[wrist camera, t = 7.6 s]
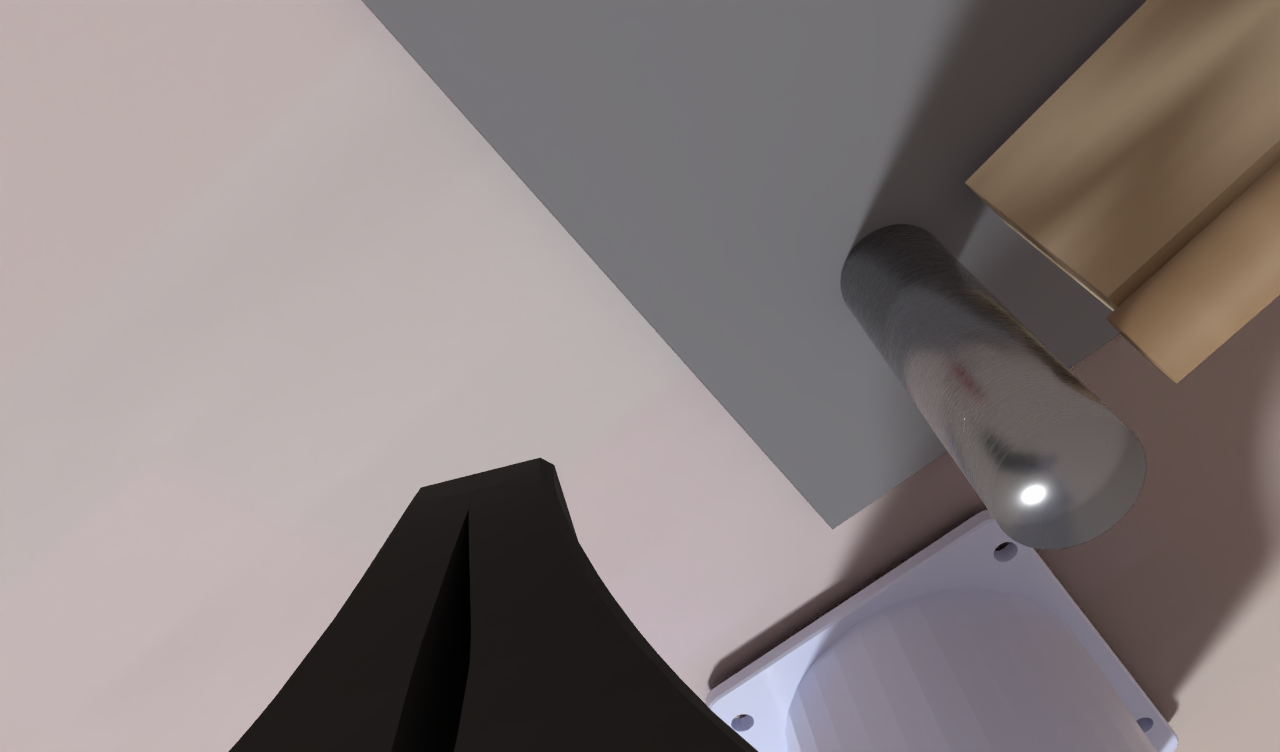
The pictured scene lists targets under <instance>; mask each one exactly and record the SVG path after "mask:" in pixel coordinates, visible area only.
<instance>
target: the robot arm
mask: <svg viewBox="0 0 1280 752" xmlns="http://www.w3.org/2000/svg"><path fill="white" fill-rule="evenodd" d="M1005 542H1009V544H1008V545H1007V546H1006V547H1005V548H1004V549H1001V550H999V551H995V549H996V548H997V547H998V546H999V545H1000V544H1002V543H1005ZM741 714H748V715H747V716H745V717H743V718H735V717H736V716H738V715H741ZM1177 745H1178V737H1177V735H1176V733H1175V732H1174V731H1173V729H1172V728H1171V726H1170V725H1169V724H1168V723H1167V721H1166V720H1165V719H1164V717H1163V716H1162V715H1161V713H1160V712H1159V711H1158V709H1157V708H1156V707H1155V706H1154V704H1153V703H1152V702H1151V700H1150V699H1149V698H1148V696H1147V695H1146V694H1145V693H1144V691H1143V690H1142V689H1141V687H1140V686H1139V685H1138V683H1137V682H1136V681H1135V680H1134V678H1133V677H1132V676H1131V674H1130V673H1129V672H1128V670H1127V669H1126V668H1125V667H1124V665H1123V664H1122V663H1121V661H1120V660H1119V659H1118V657H1117V656H1116V655H1115V654H1114V652H1113V651H1112V650H1111V648H1110V647H1109V646H1108V644H1107V643H1106V642H1105V641H1104V639H1103V638H1102V637H1101V635H1100V634H1099V633H1098V631H1097V630H1096V629H1095V628H1094V626H1093V625H1092V624H1091V622H1090V621H1089V620H1088V618H1087V617H1086V616H1085V615H1084V613H1083V612H1082V611H1081V609H1080V608H1079V607H1078V605H1077V604H1076V603H1075V602H1074V600H1073V599H1072V598H1071V596H1070V595H1069V594H1068V592H1067V591H1066V590H1065V589H1064V587H1063V586H1062V585H1061V583H1060V582H1059V581H1058V579H1057V578H1056V577H1055V576H1054V574H1053V573H1052V572H1051V570H1050V569H1049V568H1048V566H1047V565H1046V564H1045V563H1044V561H1043V560H1042V559H1041V557H1040V556H1039V555H1038V553H1037V552H1036V551H1035V550H1034V548H1031V547H1027V546H1025V545H1022V544H1020V543H1018V542H1016V541H1014V540H1013V539H1011V538H1010V537H1009V536H1007V535H1006V534H1005V532H1004V531H1003V530H1002V529H1001V528H1000V526H999V525H998V523H997V522H996V520H995V519H994V518H993V516H992V515H991V513H990V512H989V510H984V511H982V512H980V513H978V514H976V515H974V516H973V517H971V518H970V519H968V520H967V521H965V522H964V523H962V524H961V525H959V526H958V527H956V528H955V529H953V530H952V531H950V532H949V533H947V534H946V535H944V536H943V537H941V538H940V539H938V540H937V541H935V542H934V543H932V544H931V545H929V546H928V547H926V548H925V549H923V550H922V551H920V552H919V553H917V554H916V555H914V556H913V557H911V558H910V559H908V560H907V561H905V562H904V563H902V564H901V565H899V566H897V567H896V568H894V569H893V570H891V571H890V572H888V573H887V574H885V575H884V576H882V577H881V578H879V579H878V580H876V581H875V582H873V583H872V584H870V585H869V586H867V587H866V588H864V589H863V590H861V591H860V592H858V593H857V594H855V595H854V596H852V597H851V598H849V599H848V600H846V601H845V602H843V603H842V604H840V605H839V606H837V607H836V608H834V609H833V610H831V611H830V612H828V613H827V614H825V615H824V616H822V617H820V618H819V619H817V620H816V621H814V622H813V623H811V624H810V625H808V626H807V627H805V628H804V629H802V630H801V631H799V632H798V633H796V634H795V635H793V636H792V637H790V638H789V639H787V640H786V641H784V642H783V643H781V644H780V645H778V646H777V647H775V648H774V649H772V650H771V651H769V652H768V653H766V654H765V655H763V656H762V657H760V658H759V659H757V660H756V661H754V662H753V663H751V664H750V665H748V666H747V667H745V668H743V669H742V670H740V671H739V672H737V673H736V674H734V675H733V676H731V677H730V678H728V679H727V680H725V681H724V682H722V683H721V684H719V685H718V686H716V687H715V688H714V689H712V690H711V691H710V692H709V693H708V695H707V698H706V704H705V703H704V702H703V701H702V700H701V699H700V698H699V697H698V696H697V695H696V694H695V693H694V692H693V691H692V690H691V689H690V688H689V687H688V686H687V685H686V684H685V683H684V682H683V681H682V680H681V679H680V678H679V677H678V676H677V675H676V673H675V672H674V671H673V670H672V669H671V668H670V667H669V666H668V665H667V663H666V662H665V661H664V660H663V659H662V658H661V657H660V656H659V655H658V654H657V652H656V651H655V650H654V649H653V648H652V646H651V645H650V644H649V643H648V642H647V640H646V639H645V638H644V637H643V636H642V634H641V633H640V632H639V631H638V629H637V628H636V627H635V626H634V624H633V623H632V622H631V621H630V619H629V618H628V616H627V615H626V614H625V612H624V611H623V610H622V608H621V607H620V606H619V604H618V603H617V602H616V600H615V599H614V597H613V596H612V595H611V593H610V592H609V590H608V589H607V587H606V586H605V584H604V583H603V581H602V580H601V578H600V577H599V575H598V574H597V572H596V571H595V569H594V567H593V566H592V564H591V562H590V561H589V559H588V557H587V555H586V554H585V552H584V550H583V549H582V547H581V545H580V544H579V542H578V539H577V536H576V533H575V530H574V527H573V524H572V520H571V517H570V514H569V511H568V508H567V504H566V501H565V498H564V495H563V492H562V489H561V485H560V482H559V479H558V476H557V473H556V469H555V466H554V465H553V464H551V463H549V462H547V461H546V460H544V459H542V458H537V459H533V460H529V461H525V462H521V463H517V464H513V465H509V466H505V467H501V468H497V469H493V470H489V471H485V472H481V473H477V474H473V475H469V476H465V477H461V478H457V479H453V480H449V481H445V482H442V483H438V484H434V485H430V486H426V487H422V488H420V490H419V491H418V493H417V494H416V496H415V497H414V498H413V500H412V501H411V503H410V504H409V506H408V508H407V509H406V511H405V512H404V514H403V515H402V517H401V518H400V520H399V521H398V523H397V525H396V526H395V528H394V529H393V531H392V532H391V534H390V535H389V537H388V538H387V540H386V542H385V543H384V545H383V546H382V548H381V549H380V551H379V552H378V554H377V556H376V557H375V559H374V560H373V562H372V563H371V565H370V566H369V568H368V569H367V571H366V573H365V574H364V576H363V577H362V579H361V580H360V581H359V583H358V584H357V586H356V587H355V589H354V590H353V592H352V593H351V595H350V596H349V598H348V599H347V601H346V602H345V604H344V605H343V607H342V608H341V610H340V611H339V613H338V614H337V616H336V617H335V618H334V620H333V621H332V623H331V624H330V625H329V627H328V628H327V629H326V631H325V632H324V633H323V635H322V636H321V637H320V639H319V640H318V641H317V642H316V644H315V645H314V646H313V648H312V649H311V650H310V652H309V653H308V654H307V656H306V657H305V658H304V660H303V661H302V662H301V664H300V665H299V666H298V668H297V669H296V670H295V672H294V673H293V674H292V676H291V677H290V678H289V680H288V681H287V682H286V684H285V685H284V686H283V688H282V689H281V690H280V691H279V693H278V694H277V695H276V697H275V698H274V699H273V700H272V702H271V703H270V704H269V705H268V707H267V708H266V709H265V710H264V711H263V713H262V714H261V715H260V716H259V717H258V719H257V720H256V721H255V722H254V723H253V724H252V726H251V727H250V728H249V729H248V730H247V731H246V733H245V734H244V735H243V736H242V737H241V738H240V740H239V741H238V742H237V743H236V744H235V745H234V746H233V747H232V748H231V750H230V751H229V752H1174V750H1175V749H1176V747H1177Z"/></svg>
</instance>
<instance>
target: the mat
mask: <svg viewBox="0 0 1280 752" xmlns="http://www.w3.org/2000/svg"><path fill="white" fill-rule="evenodd" d="M362 1H363V2H364V3H365V5H366V6H367V7H368V8H369V9H370V10H371V11H372V12H373V14H374V15H375V16H376V17H377V18H378V19H379V20H380V21H381V23H382V24H383V25H384V26H385V27H386V28H387V29H388V30H389V32H390V33H391V34H392V35H393V36H394V37H395V38H396V39H397V41H398V42H399V43H400V44H401V45H402V46H403V47H404V48H405V50H406V51H407V52H408V53H409V54H410V55H411V56H412V57H413V59H414V60H415V61H416V62H417V63H418V64H419V65H420V66H421V68H422V69H423V70H424V71H425V72H426V73H427V74H428V75H429V77H430V78H431V79H432V80H433V81H434V82H435V83H436V84H437V86H438V87H439V88H440V89H441V90H442V91H443V92H444V93H445V95H446V96H447V97H448V98H449V99H450V100H451V101H452V102H453V104H454V105H455V106H456V107H457V108H458V109H459V110H460V111H461V112H462V114H463V115H464V116H465V117H466V118H467V119H468V120H469V121H470V123H471V124H472V125H473V126H474V127H475V128H476V129H477V130H478V132H479V133H480V134H481V135H482V136H483V137H484V138H485V139H486V141H487V142H488V143H489V144H490V145H491V146H492V147H493V148H494V150H495V151H496V152H497V153H498V154H499V155H500V156H501V157H502V159H503V160H504V161H505V162H506V163H507V164H508V165H509V166H510V168H511V169H512V170H513V171H514V172H515V173H516V174H517V175H518V177H519V178H520V179H521V180H522V181H523V182H524V183H525V184H526V186H527V187H528V188H529V189H530V190H531V191H532V192H533V193H534V195H535V196H536V197H537V198H538V199H539V200H540V201H541V202H542V204H543V205H544V206H545V207H546V208H547V209H548V210H549V211H550V212H551V214H552V215H553V216H554V217H555V218H556V219H557V220H558V221H559V223H560V224H561V225H562V226H563V227H564V228H565V229H566V230H567V232H568V233H569V234H570V235H571V236H572V237H573V238H574V239H575V241H576V242H577V243H578V244H579V245H580V246H581V247H582V248H583V250H584V251H585V252H586V253H587V254H588V255H589V256H590V257H591V259H592V260H593V261H594V262H595V263H596V264H597V265H598V266H599V268H600V269H601V270H602V271H603V272H604V273H605V274H606V275H607V277H608V278H609V279H610V280H611V281H612V282H613V283H614V284H615V286H616V287H617V288H618V289H619V290H620V291H621V292H622V293H623V295H624V296H625V297H626V298H627V299H628V300H629V301H630V302H631V304H632V305H633V306H634V307H635V308H636V309H637V310H638V311H639V313H640V314H641V315H642V316H643V317H644V318H645V319H646V320H647V321H648V323H649V324H650V325H651V326H652V327H653V328H654V329H655V330H656V332H657V333H658V334H659V335H660V336H661V337H662V338H663V339H664V341H665V342H666V343H667V344H668V345H669V346H670V347H671V348H672V350H673V351H674V352H675V353H676V354H677V355H678V356H679V357H680V359H681V360H682V361H683V362H684V363H685V364H686V365H687V366H688V368H689V369H690V370H691V371H692V372H693V373H694V374H695V375H696V377H697V378H698V379H699V380H700V381H701V382H702V383H703V384H704V386H705V387H706V388H707V389H708V390H709V391H710V392H711V393H712V395H713V396H714V397H715V398H716V399H717V400H718V401H719V402H720V404H721V405H722V406H723V407H724V408H725V409H726V410H727V411H728V413H729V414H730V415H731V416H732V417H733V418H734V419H735V420H736V421H737V423H738V424H739V425H740V426H741V427H742V428H743V429H744V430H745V432H746V433H747V434H748V435H749V436H750V437H751V438H752V439H753V441H754V442H755V443H756V444H757V445H758V446H759V447H760V448H761V450H762V451H763V452H764V453H765V454H766V455H767V456H768V457H769V459H770V460H771V461H772V462H773V463H774V464H775V465H776V466H777V468H778V469H779V470H780V471H781V472H782V473H783V474H784V475H785V477H786V478H787V479H788V480H789V481H790V482H791V483H792V484H793V486H794V487H795V488H796V489H797V490H798V491H799V492H800V493H801V495H802V496H803V497H804V498H805V499H806V500H807V501H808V502H809V504H810V505H811V506H812V507H813V508H814V509H815V510H816V511H817V513H818V514H819V515H820V516H821V517H822V518H823V519H824V520H825V521H826V523H827V524H828V525H829V526H830V527H831V528H832V529H834V528H836V527H837V526H838V525H840V524H841V523H843V522H844V521H846V520H847V519H849V518H850V517H852V516H853V515H855V514H856V513H858V512H859V511H861V510H862V509H863V508H865V507H866V506H868V505H869V504H871V503H872V502H874V501H875V500H877V499H878V498H880V497H881V496H883V495H884V494H885V493H887V492H888V491H890V490H891V489H893V488H894V487H896V486H897V485H899V484H900V483H902V482H903V481H905V480H906V479H907V478H909V477H910V476H912V475H913V474H915V473H916V472H918V471H919V470H921V469H922V468H924V467H925V466H927V465H928V464H929V463H931V462H932V461H934V460H935V459H937V458H938V457H940V456H941V455H943V454H944V453H946V452H947V450H946V448H945V447H944V445H943V444H942V442H941V441H940V440H939V438H938V437H937V435H936V434H935V432H934V431H933V429H932V428H931V427H930V425H929V424H928V422H927V421H926V419H925V418H924V416H923V415H922V414H921V412H920V411H919V409H918V408H917V406H916V405H915V403H914V402H913V401H912V399H911V398H910V396H909V395H908V393H907V392H906V390H905V389H904V388H903V386H902V385H901V383H900V382H899V380H898V379H897V377H896V376H895V375H894V373H893V372H892V370H891V369H890V367H889V366H888V364H887V363H886V362H885V360H884V359H883V357H882V356H881V354H880V353H879V351H878V350H877V349H876V347H875V346H874V344H873V343H872V341H871V340H870V338H869V337H868V336H867V334H866V333H865V331H864V330H863V328H862V327H861V325H860V324H859V323H858V321H857V320H856V318H855V317H854V315H853V314H852V312H851V311H850V310H849V308H848V307H847V305H846V304H845V301H844V299H843V296H842V293H841V287H840V278H841V272H842V268H843V265H844V263H845V260H846V258H847V256H848V255H849V253H850V252H851V250H852V249H853V248H854V246H855V245H856V244H857V243H858V242H859V241H860V240H862V239H863V238H864V237H865V236H867V235H868V234H870V233H871V232H873V231H875V230H877V229H880V228H882V227H885V226H889V225H895V224H908V225H914V226H917V227H920V228H922V229H925V230H926V231H928V232H929V233H931V234H932V235H933V236H934V237H935V238H936V239H937V240H938V241H939V242H940V243H941V244H942V245H943V246H944V247H945V248H946V249H947V250H949V251H950V252H951V253H952V254H953V255H954V256H955V257H956V258H957V259H958V260H959V261H960V262H961V263H962V264H963V265H964V266H965V267H966V268H967V269H968V270H969V271H970V272H971V273H972V274H973V275H974V276H975V277H976V278H977V279H978V280H979V281H980V282H981V283H982V284H983V285H984V286H985V287H986V288H987V289H988V290H989V291H990V292H991V293H992V294H993V295H994V296H995V297H996V298H997V299H998V300H999V301H1000V302H1001V303H1002V304H1003V305H1004V306H1005V307H1006V308H1007V309H1008V310H1009V311H1010V312H1011V313H1012V314H1013V315H1014V316H1015V317H1016V318H1017V319H1018V320H1019V321H1020V322H1021V323H1022V324H1024V325H1025V326H1026V327H1027V328H1028V329H1029V330H1030V331H1031V332H1032V333H1033V334H1034V335H1035V336H1036V337H1037V338H1038V339H1039V340H1040V341H1041V342H1042V343H1043V344H1044V345H1045V346H1046V347H1047V348H1048V349H1049V350H1050V351H1051V352H1052V353H1053V354H1054V355H1055V356H1056V357H1057V358H1058V359H1059V360H1060V361H1061V362H1062V363H1063V364H1064V365H1065V366H1066V367H1067V368H1068V369H1069V368H1070V367H1072V366H1073V365H1075V364H1076V363H1078V362H1079V361H1081V360H1082V359H1084V358H1085V357H1087V356H1088V355H1089V354H1091V353H1092V352H1094V351H1095V350H1097V349H1098V348H1100V347H1101V346H1103V345H1104V344H1106V343H1107V342H1109V341H1110V340H1111V339H1113V338H1114V337H1116V336H1117V335H1119V334H1120V332H1119V331H1118V330H1117V329H1116V328H1115V327H1114V326H1113V325H1112V324H1111V323H1110V322H1109V321H1108V320H1107V319H1106V317H1107V316H1109V315H1110V314H1111V313H1112V312H1113V311H1112V310H1111V309H1110V308H1108V307H1107V306H1106V305H1105V304H1103V303H1102V302H1101V301H1100V300H1099V299H1097V298H1096V297H1095V296H1094V295H1092V294H1091V293H1090V292H1089V291H1088V290H1086V289H1085V288H1084V287H1083V286H1081V285H1080V284H1079V283H1078V282H1077V281H1075V280H1074V279H1073V278H1072V277H1070V276H1069V275H1068V274H1067V273H1066V272H1064V271H1063V270H1062V269H1061V268H1059V267H1058V266H1057V265H1056V264H1055V263H1053V262H1052V261H1051V260H1050V259H1049V258H1047V257H1046V256H1045V255H1044V254H1042V253H1041V252H1040V251H1039V250H1038V249H1036V248H1035V247H1034V246H1033V245H1031V244H1030V243H1029V242H1028V241H1027V240H1025V239H1024V238H1023V237H1022V236H1020V235H1019V234H1018V233H1017V232H1016V231H1014V230H1013V229H1012V228H1011V227H1009V226H1008V225H1007V224H1006V223H1005V222H1004V221H1003V220H1002V219H1001V218H1000V217H999V216H998V215H997V214H996V213H995V212H994V211H993V210H992V209H991V208H990V207H989V206H988V205H987V204H986V203H985V202H984V201H983V200H982V199H981V198H980V197H979V196H978V195H977V194H976V193H975V192H974V191H973V190H972V189H971V188H970V187H969V186H968V185H967V184H966V183H965V182H966V181H967V180H968V179H969V178H970V177H971V176H972V175H973V174H974V173H975V172H976V171H977V170H978V169H979V168H980V167H981V166H982V165H983V164H984V163H985V162H986V161H987V160H988V159H989V158H990V157H991V156H992V155H993V154H994V153H995V152H996V151H997V150H998V149H999V148H1000V147H1001V146H1002V145H1003V144H1004V143H1005V142H1006V141H1007V140H1008V139H1009V138H1010V137H1011V136H1012V135H1013V134H1014V133H1015V132H1016V131H1017V130H1018V129H1019V128H1020V127H1021V126H1022V125H1023V124H1024V123H1025V122H1026V121H1027V120H1028V119H1029V118H1030V117H1031V116H1032V115H1033V114H1034V113H1035V112H1036V111H1037V110H1038V109H1039V108H1040V107H1041V106H1042V105H1043V104H1044V103H1045V102H1046V101H1047V100H1048V99H1049V98H1050V97H1051V96H1052V95H1053V94H1054V93H1055V92H1056V91H1057V90H1058V89H1059V88H1060V87H1061V86H1062V85H1063V84H1064V83H1065V82H1066V81H1067V80H1068V79H1069V78H1070V77H1071V76H1072V75H1073V74H1074V73H1075V72H1076V71H1077V70H1078V69H1079V68H1080V67H1081V66H1082V65H1083V64H1084V63H1085V62H1086V61H1087V60H1088V59H1089V58H1090V57H1091V56H1092V55H1093V54H1094V53H1095V52H1096V51H1097V50H1098V49H1099V48H1100V47H1101V46H1102V45H1103V44H1104V43H1105V42H1106V41H1107V40H1108V39H1109V38H1110V37H1111V36H1112V35H1113V34H1114V33H1115V32H1116V31H1117V30H1118V29H1119V28H1120V27H1121V26H1122V25H1123V24H1124V23H1125V22H1126V21H1127V20H1128V19H1129V18H1130V17H1131V16H1132V15H1133V14H1134V13H1135V12H1136V11H1137V10H1138V9H1139V8H1140V7H1141V6H1142V5H1143V4H1144V3H1145V2H1146V1H1147V0H362Z"/></svg>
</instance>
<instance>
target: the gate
mask: <svg viewBox="0 0 1280 752" xmlns="http://www.w3.org/2000/svg"><path fill="white" fill-rule="evenodd" d="M965 183H966V184H967V185H968V186H969V187H970V188H971V189H972V190H973V191H974V192H975V193H976V194H977V195H978V196H979V197H980V198H981V199H982V200H983V201H984V202H985V203H986V204H987V205H988V206H989V207H990V208H991V209H992V210H993V211H994V212H995V213H996V214H997V215H998V216H999V217H1000V218H1001V219H1002V220H1003V221H1004V222H1005V223H1006V224H1007V225H1008V226H1009V227H1011V228H1012V229H1013V230H1014V231H1016V232H1017V233H1018V234H1019V235H1020V236H1022V237H1023V238H1024V239H1025V240H1027V241H1028V242H1029V243H1030V244H1031V245H1033V246H1034V247H1035V248H1036V249H1038V250H1039V251H1040V252H1041V253H1042V254H1044V255H1045V256H1046V257H1047V258H1049V259H1050V260H1051V261H1052V262H1053V263H1055V264H1056V265H1057V266H1058V267H1059V268H1061V269H1062V270H1063V271H1064V272H1066V273H1067V274H1068V275H1069V276H1070V277H1072V278H1073V279H1074V280H1075V281H1077V282H1078V283H1079V284H1080V285H1081V286H1083V287H1084V288H1085V289H1086V290H1088V291H1089V292H1090V293H1091V294H1092V295H1094V296H1095V297H1096V298H1097V299H1099V300H1100V301H1101V302H1102V303H1103V304H1105V305H1106V306H1107V307H1108V308H1110V309H1111V310H1112V311H1113V312H1112V313H1111V314H1110V315H1109V316H1107V317H1106V319H1107V320H1108V321H1109V322H1110V323H1111V324H1112V325H1113V326H1114V327H1115V328H1116V329H1117V330H1118V331H1119V332H1120V333H1121V334H1122V335H1123V336H1124V337H1125V338H1126V339H1127V340H1128V341H1129V342H1130V343H1131V344H1132V345H1133V346H1134V347H1135V348H1136V349H1137V350H1138V351H1140V352H1141V353H1142V354H1143V355H1144V356H1145V357H1146V358H1147V359H1148V360H1149V361H1150V362H1152V363H1153V364H1154V365H1155V366H1156V367H1157V368H1158V369H1159V370H1160V371H1162V372H1163V373H1164V374H1165V375H1166V376H1167V377H1169V378H1170V379H1171V380H1172V381H1174V382H1175V383H1176V384H1177V383H1178V382H1179V381H1181V380H1182V379H1183V378H1184V377H1185V376H1186V375H1188V374H1189V373H1190V372H1191V371H1192V370H1193V369H1195V368H1196V367H1197V366H1198V365H1199V364H1200V363H1201V362H1203V361H1204V360H1205V359H1206V358H1207V357H1208V356H1210V355H1211V354H1212V353H1213V352H1214V351H1215V350H1216V349H1218V348H1219V347H1220V346H1221V345H1222V344H1223V343H1225V342H1226V341H1227V340H1228V339H1229V338H1230V337H1231V336H1233V335H1234V334H1235V333H1236V332H1237V331H1238V330H1240V329H1241V328H1242V327H1243V326H1244V325H1245V324H1247V323H1248V322H1249V321H1250V320H1251V319H1252V318H1253V317H1255V316H1256V315H1257V314H1258V313H1259V312H1260V311H1262V310H1263V309H1264V308H1265V307H1266V306H1267V305H1268V304H1270V303H1271V302H1272V301H1273V300H1274V299H1275V298H1277V297H1278V296H1279V295H1280V0H1147V1H1146V2H1145V3H1144V4H1143V5H1142V6H1141V7H1140V8H1139V9H1138V10H1137V11H1136V12H1135V13H1134V14H1133V15H1132V16H1131V17H1130V18H1129V19H1128V20H1127V21H1126V22H1125V23H1124V24H1123V25H1122V26H1121V27H1120V28H1119V29H1118V30H1117V31H1116V32H1115V33H1114V34H1113V35H1112V36H1111V37H1110V38H1109V39H1108V40H1107V41H1106V42H1105V43H1104V44H1103V45H1102V46H1101V47H1100V48H1099V49H1098V50H1097V51H1096V52H1095V53H1094V54H1093V55H1092V56H1091V57H1090V58H1089V59H1088V60H1087V61H1086V62H1085V63H1084V64H1083V65H1082V66H1081V67H1080V68H1079V69H1078V70H1077V71H1076V72H1075V73H1074V74H1073V75H1072V76H1071V77H1070V78H1069V79H1068V80H1067V81H1066V82H1065V83H1064V84H1063V85H1062V86H1061V87H1060V88H1059V89H1058V90H1057V91H1056V92H1055V93H1054V94H1053V95H1052V96H1051V97H1050V98H1049V99H1048V100H1047V101H1046V102H1045V103H1044V104H1043V105H1042V106H1041V107H1040V108H1039V109H1038V110H1037V111H1036V112H1035V113H1034V114H1033V115H1032V116H1031V117H1030V118H1029V119H1028V120H1027V121H1026V122H1025V123H1024V124H1023V125H1022V126H1021V127H1020V128H1019V129H1018V130H1017V131H1016V132H1015V133H1014V134H1013V135H1012V136H1011V137H1010V138H1009V139H1008V140H1007V141H1006V142H1005V143H1004V144H1003V145H1002V146H1001V147H1000V148H999V149H998V150H997V151H996V152H995V153H994V154H993V155H992V156H991V157H990V158H989V159H988V160H987V161H986V162H985V163H984V164H983V165H982V166H981V167H980V168H979V169H978V170H977V171H976V172H975V173H974V174H973V175H972V176H971V177H970V178H969V179H968V180H967V181H966V182H965Z"/></svg>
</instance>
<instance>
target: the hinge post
mask: <svg viewBox="0 0 1280 752" xmlns="http://www.w3.org/2000/svg"><path fill="white" fill-rule="evenodd" d="M840 287H841V293H842V296H843V299H844V301H845V304H846V305H847V307H848V308H849V310H850V311H851V312H852V314H853V315H854V317H855V318H856V320H857V321H858V323H859V324H860V325H861V327H862V328H863V330H864V331H865V333H866V334H867V336H868V337H869V338H870V340H871V341H872V343H873V344H874V346H875V347H876V349H877V350H878V351H879V353H880V354H881V356H882V357H883V359H884V360H885V362H886V363H887V364H888V366H889V367H890V369H891V370H892V372H893V373H894V375H895V376H896V377H897V379H898V380H899V382H900V383H901V385H902V386H903V388H904V389H905V390H906V392H907V393H908V395H909V396H910V398H911V399H912V401H913V402H914V403H915V405H916V406H917V408H918V409H919V411H920V412H921V414H922V415H923V416H924V418H925V419H926V421H927V422H928V424H929V425H930V427H931V428H932V429H933V431H934V432H935V434H936V435H937V437H938V438H939V440H940V441H941V442H942V444H943V445H944V447H945V448H946V450H947V451H948V453H949V454H950V455H951V457H952V458H953V460H954V461H955V463H956V464H957V466H958V467H959V468H960V470H961V471H962V473H963V474H964V476H965V477H966V479H967V480H968V481H969V483H970V484H971V486H972V487H973V489H974V490H975V492H976V493H977V494H978V496H979V497H980V499H981V500H982V502H983V503H984V505H985V506H986V507H987V509H988V510H989V512H990V513H991V515H992V516H993V518H994V519H995V520H996V522H997V523H998V525H999V526H1000V528H1001V529H1002V530H1003V531H1004V532H1005V534H1006V535H1007V536H1009V537H1010V538H1011V539H1013V540H1014V541H1016V542H1018V543H1020V544H1022V545H1025V546H1027V547H1031V548H1035V549H1044V550H1056V549H1064V548H1069V547H1073V546H1077V545H1080V544H1082V543H1085V542H1087V541H1090V540H1092V539H1094V538H1096V537H1098V536H1099V535H1101V534H1103V533H1104V532H1106V531H1107V530H1109V529H1110V528H1111V527H1113V526H1114V525H1115V524H1116V523H1117V522H1118V521H1120V520H1121V519H1122V518H1123V516H1124V515H1125V514H1126V513H1127V512H1128V511H1129V510H1130V508H1131V507H1132V506H1133V504H1134V502H1135V501H1136V499H1137V498H1138V496H1139V493H1140V491H1141V489H1142V486H1143V483H1144V480H1145V474H1146V457H1145V453H1144V450H1143V447H1142V445H1141V443H1140V441H1139V439H1138V438H1137V437H1136V435H1135V434H1134V433H1133V432H1132V431H1131V430H1130V429H1129V428H1128V427H1127V426H1126V425H1125V424H1124V423H1123V422H1122V421H1121V420H1120V419H1119V418H1118V417H1117V416H1116V415H1115V414H1114V413H1113V412H1112V411H1111V410H1110V409H1109V408H1108V407H1107V406H1106V405H1105V404H1104V403H1103V402H1102V401H1101V400H1100V399H1099V398H1097V397H1096V396H1095V395H1094V394H1093V393H1092V392H1091V391H1090V390H1089V389H1088V388H1087V387H1086V386H1085V385H1084V384H1083V383H1082V382H1081V381H1080V380H1079V379H1078V378H1077V377H1076V376H1075V375H1074V374H1073V373H1072V372H1071V371H1070V370H1069V369H1068V368H1067V367H1066V366H1065V365H1064V364H1063V363H1062V362H1061V361H1060V360H1059V359H1058V358H1057V357H1056V356H1055V355H1054V354H1053V353H1052V352H1051V351H1050V350H1049V349H1048V348H1047V347H1046V346H1045V345H1044V344H1043V343H1042V342H1041V341H1040V340H1039V339H1038V338H1037V337H1036V336H1035V335H1034V334H1033V333H1032V332H1031V331H1030V330H1029V329H1028V328H1027V327H1026V326H1025V325H1024V324H1022V323H1021V322H1020V321H1019V320H1018V319H1017V318H1016V317H1015V316H1014V315H1013V314H1012V313H1011V312H1010V311H1009V310H1008V309H1007V308H1006V307H1005V306H1004V305H1003V304H1002V303H1001V302H1000V301H999V300H998V299H997V298H996V297H995V296H994V295H993V294H992V293H991V292H990V291H989V290H988V289H987V288H986V287H985V286H984V285H983V284H982V283H981V282H980V281H979V280H978V279H977V278H976V277H975V276H974V275H973V274H972V273H971V272H970V271H969V270H968V269H967V268H966V267H965V266H964V265H963V264H962V263H961V262H960V261H959V260H958V259H957V258H956V257H955V256H954V255H953V254H952V253H951V252H950V251H949V250H947V249H946V248H945V247H944V246H943V245H942V244H941V243H940V242H939V241H938V240H937V239H936V238H935V237H934V236H933V235H932V234H931V233H929V232H928V231H926V230H925V229H922V228H920V227H917V226H914V225H908V224H895V225H889V226H885V227H882V228H880V229H877V230H875V231H873V232H871V233H870V234H868V235H867V236H865V237H864V238H863V239H862V240H860V241H859V242H858V243H857V244H856V245H855V246H854V248H853V249H852V250H851V252H850V253H849V255H848V256H847V258H846V260H845V263H844V265H843V268H842V272H841V278H840Z"/></svg>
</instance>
